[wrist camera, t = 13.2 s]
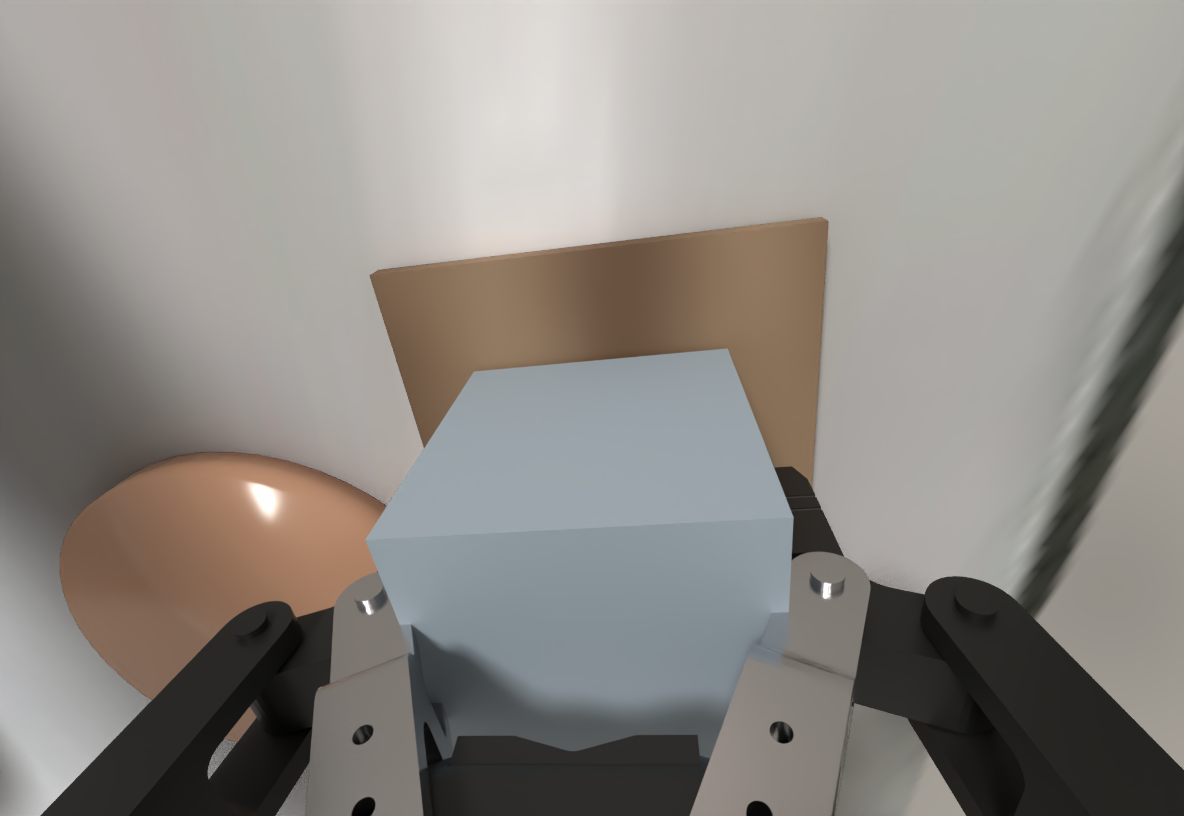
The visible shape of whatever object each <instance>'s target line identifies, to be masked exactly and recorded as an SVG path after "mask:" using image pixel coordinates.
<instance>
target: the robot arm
mask: <svg viewBox="0 0 1184 816" xmlns="http://www.w3.org/2000/svg"><path fill="white" fill-rule="evenodd" d="M767 451H768V449H767ZM768 453H769V452H768ZM769 456H770V455H769ZM770 458H771V457H770ZM771 461H772V460H771ZM772 464H773V462H772ZM773 466H774V465H773ZM774 469H775V471H776V474H777V476H778V479H779V481H780V484H781V487H782V489H783V492H784V494H785V497H786V499H787V502H788V504H789V507H790V510H791V512H792V515H793V517H794V519H793V539H792V559H791V579H790V599H789V612H779V613H771V615H770V618H769V621H768V624H767V627H766V630H765V633H764V635H763V638H762V641H761V643H760V645H757V644H754V645H753V646H752V647H751V649H750V651H749V653H748V656H747V659H746V661H745V664H744V667H743V670H742V672H741V675H740V678H739V681H738V683H737V686H736V689H735V692H734V694H733V697H732V700H731V703H730V705H729V708H728V711H727V714H726V717H725V719H724V722H723V725H722V728H721V730H720V733H719V736H718V739H717V741H716V744H715V747H714V750H713V752H712V755H711V758H707V757H704V756H700V754H699V744H698V735H634V736H631V737H627V738H623V739H619V740H616V741H612V742H608V743H605V744H601V745H597V746H594V747H590V748H586V749H582V750H578V751H567V750H563V749H560V748H556V747H553V746H549V745H546V744H542V743H539V742H535V741H532V740H528V739H525V738H521V737H518V736H458V737H457V740H456V744H455V747H454V751H453V745H452V739H451V733H450V727H449V721H448V717H447V714H446V712H445V709H444V707H443V704H442V703H431V700H430V698H429V695H428V693H427V690H426V686H425V683H424V678H423V673H422V667H421V659H420V651H419V643H418V641H417V638H416V636H415V633H414V631H413V628H412V626H411V624H404V625H400V624H399V622H398V619H397V617H396V614H395V612H394V610H393V607H392V605H391V602H390V600H389V597H388V595H387V592H386V590H385V587H384V585H383V583H382V580H381V578H380V575H379V573H378V571H377V572H375V573H371V574H369V575H366V576H364V577H362V578H360V579H358V580H356V581H355V582H353V583H352V584H351V585H349V586H348V587H347V588H346V589H345V590H344V591H343V592H342V593H341V594H340V596H339V597H338V599H337V600H336V603H335V606H334V607H331V608H327V609H324V610H320V611H317V612H314V613H310V614H307V615H303V616H300V617H296V616H295V614H294V612H293V610H292V609H291V607H290V605H288V604H287V603H285V602H282V601H269V602H264V603H261V604H258V605H255V606H253V607H250V608H248V609H246V610H245V611H243V612H241V613H240V614H238V615H237V616H235V617H234V618H233V619H231V620H230V621H229V622H228V623H227V624H226V625H225V626H224V627H223V628H222V629H221V630H220V631H219V632H218V633H217V634H216V635H215V636H214V637H213V638H212V639H211V640H210V641H209V642H208V643H207V644H206V645H205V646H204V647H203V648H202V649H201V650H200V651H199V652H198V653H197V654H196V656H195V657H194V658H193V659H192V660H191V661H190V662H189V663H188V664H187V665H186V666H185V667H184V668H183V669H182V670H181V671H180V672H179V673H178V674H177V675H176V676H175V677H174V678H173V679H172V680H171V681H170V682H169V683H168V684H167V685H166V686H165V688H164V689H163V690H162V691H161V692H160V693H159V694H158V695H157V696H156V697H155V698H154V699H153V700H152V701H151V702H150V703H149V704H148V705H147V706H146V707H145V708H144V709H143V710H142V711H141V712H140V713H139V714H138V715H137V716H136V717H135V719H134V720H133V721H132V722H131V723H130V724H129V725H128V726H127V727H126V728H125V729H124V730H123V731H122V732H121V733H120V734H119V735H118V736H117V737H116V738H115V739H114V740H113V741H112V742H111V743H110V744H109V745H108V746H107V747H106V748H105V749H104V751H103V752H102V753H101V754H100V755H99V756H98V757H97V758H96V759H95V760H94V761H93V762H92V763H91V764H90V765H89V766H88V767H87V768H86V769H85V770H84V771H83V772H82V773H81V774H80V775H79V776H78V777H77V778H76V779H75V780H74V782H73V783H72V784H71V785H70V786H69V787H68V788H67V789H66V790H65V791H64V792H63V793H62V794H61V795H60V796H59V797H58V798H57V799H56V800H55V801H54V802H53V803H52V804H51V805H50V806H49V807H48V808H47V809H46V810H45V811H44V813H43V814H42V815H41V816H275V815H276V814H277V812H278V811H279V809H280V807H281V806H282V804H283V803H284V801H285V800H286V798H287V797H288V795H289V793H290V792H291V790H292V789H293V787H294V786H295V784H296V782H297V781H298V779H299V778H300V776H301V775H302V773H303V771H304V770H305V768H306V767H307V765H308V764H309V776H308V788H307V801H306V814H305V816H836V812H837V805H838V799H839V792H840V786H841V780H842V774H843V768H844V762H845V756H846V750H847V744H848V738H849V732H850V726H851V720H852V714H853V708H854V703H856V704H860V705H863V706H867V707H870V708H874V709H878V710H881V711H885V712H888V713H892V714H895V715H899V716H903V717H906V718H908V720H909V722H910V724H911V725H912V727H913V729H914V730H915V732H916V734H917V735H918V737H919V738H920V740H921V742H922V743H923V745H924V747H925V748H926V750H927V752H928V753H929V755H930V757H931V758H932V760H933V762H934V763H935V765H936V766H937V768H938V770H939V771H940V773H941V775H942V776H943V778H944V780H945V781H946V783H947V785H948V786H949V788H950V789H951V791H952V793H953V794H954V796H955V798H956V799H957V801H958V803H959V804H960V806H961V808H962V809H963V811H964V813H965V814H966V816H1184V770H1183V769H1182V768H1181V767H1180V766H1179V765H1178V764H1177V763H1176V762H1175V761H1174V760H1173V759H1172V758H1171V757H1170V756H1169V755H1168V754H1167V753H1166V752H1165V751H1164V750H1163V749H1162V748H1161V747H1160V746H1159V745H1158V744H1157V743H1156V742H1155V741H1154V740H1153V739H1152V738H1151V737H1150V736H1149V735H1148V734H1147V733H1146V732H1145V730H1144V729H1143V728H1142V727H1140V726H1139V725H1138V724H1137V722H1136V721H1135V720H1134V719H1133V718H1132V717H1131V716H1130V715H1128V713H1127V712H1126V711H1125V710H1124V709H1122V707H1121V706H1120V705H1119V704H1118V703H1117V702H1116V701H1115V700H1114V699H1113V698H1112V697H1111V696H1110V695H1109V694H1108V693H1107V692H1106V691H1105V690H1104V689H1103V688H1102V687H1101V686H1100V685H1099V684H1098V683H1097V682H1096V681H1095V680H1094V679H1093V678H1092V677H1091V676H1090V675H1089V674H1088V673H1087V672H1086V671H1085V670H1084V669H1083V668H1082V667H1081V666H1080V665H1079V664H1078V663H1077V662H1076V661H1075V660H1074V659H1073V658H1072V657H1071V656H1070V655H1069V654H1068V653H1067V652H1066V651H1065V650H1064V649H1063V648H1062V647H1061V646H1060V645H1059V644H1058V643H1057V642H1056V641H1055V640H1054V639H1053V638H1052V637H1051V636H1050V635H1049V634H1048V633H1047V631H1045V629H1044V628H1043V627H1042V626H1040V624H1039V623H1038V622H1037V621H1036V620H1035V619H1034V618H1033V617H1032V616H1031V615H1030V614H1029V613H1028V612H1027V611H1026V610H1025V609H1024V608H1023V607H1022V606H1021V605H1020V604H1019V603H1018V602H1017V601H1016V600H1015V599H1013V598H1012V597H1011V596H1010V595H1008V594H1007V593H1006V592H1004V591H1003V590H1001V589H999V588H997V587H995V586H993V585H991V584H989V583H986V582H983V581H980V580H977V579H973V578H967V577H957V576H953V577H945V578H940V579H938V580H936V581H934V582H932V583H931V584H930V585H929V586H928V587H927V590H926V592H925V594H919V593H914V592H909V591H904V590H899V589H894V588H890V587H886V586H883V585H880V584H877V583H875V582H873V581H871V580H869V578H868V576H867V575H866V573H865V572H864V571H863V569H862V568H861V567H859V566H858V565H857V564H856V563H854V562H853V561H851V560H849V559H848V558H845V557H844V555H843V553H842V551H841V549H840V547H839V545H838V543H837V540H836V538H835V536H834V534H833V532H832V530H831V528H830V526H829V523H828V521H827V519H826V517H825V515H824V513H823V511H822V510H821V506H820V504H819V502H818V500H817V498H816V497H815V494H814V492H813V489H812V487H811V485H810V483H809V481H808V479H807V478H806V477H805V476H803V475H802V474H801V473H800V472H798V471H797V470H796V469H795V468H793V467H792V466H789V467H774ZM249 707H250V708H251V709H252V711H253V713H254V714H255V716H256V717H257V718H256V719H255V720H254V722H253V723H252V724H251V725H250V727H249V728H248V729H247V731H246V732H245V733H244V734H243V736H242V737H241V738H240V740H239V741H238V742H237V744H236V745H235V746H234V747H233V749H232V750H231V751H230V753H229V754H228V755H227V757H226V758H225V759H224V760H223V762H222V763H221V764H220V766H219V767H218V768H217V770H216V771H215V772H214V773H213V775H212V776H211V777H210V779H209V780H208V774H207V772H208V766H209V762H210V759H211V757H212V755H213V753H214V751H215V750H216V748H217V747H218V746H219V744H220V743H221V742H222V741H223V739H224V738H225V737H226V736H227V734H228V733H229V732H230V731H231V729H232V728H233V727H234V726H235V724H236V723H237V722H238V721H239V719H240V718H241V717H242V716H243V714H244V713H245V712H246V711H247V709H248V708H249ZM309 762H310V763H309Z"/></svg>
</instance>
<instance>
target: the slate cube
mask: <svg viewBox="0 0 1184 816" xmlns="http://www.w3.org/2000/svg"><path fill="white" fill-rule="evenodd" d="M793 519H794V517H793V515H792V512H791V510H790V507H789V504H788V502H787V499H786V497H785V494H784V492H783V489H782V487H781V484H780V481H779V479H778V476H777V474H776V471H775V469H774V466H773V464H772V461H771V458H770V456H769V453H768V451H767V448H766V446H765V443H764V440H763V438H762V435H761V433H760V430H759V428H758V425H757V423H756V420H755V417H754V415H753V412H752V410H751V407H750V405H749V402H748V399H747V397H746V394H745V392H744V389H743V387H742V384H741V382H740V379H739V376H738V374H737V371H736V369H735V366H734V364H733V361H732V359H731V356H730V353H729V351H728V349H717V350H705V351H694V352H683V353H672V354H661V355H650V356H639V357H628V358H617V359H606V360H595V361H584V362H573V363H562V364H551V365H540V366H529V367H518V368H507V369H496V370H485V371H474V372H473V374H472V375H471V377H470V378H469V380H468V381H467V383H466V385H465V386H464V388H463V389H462V391H461V392H460V394H459V395H458V397H457V399H456V400H455V402H454V403H453V405H452V406H451V408H450V409H449V411H448V412H447V414H446V416H445V417H444V419H443V420H442V422H441V423H440V425H439V426H438V428H437V429H436V431H435V433H434V434H433V436H432V437H431V439H430V440H429V442H428V443H427V445H426V446H425V448H424V450H423V451H422V453H421V454H420V456H419V457H418V459H417V460H416V462H415V464H414V465H413V467H412V468H411V470H410V471H409V473H408V474H407V476H406V477H405V479H404V481H403V482H402V484H401V485H400V487H399V488H398V490H397V491H396V493H395V494H394V496H393V498H392V499H391V501H390V502H389V504H388V505H387V507H386V508H385V510H384V511H383V513H382V515H381V516H380V518H379V519H378V521H377V522H376V524H375V525H374V527H373V529H372V530H371V532H370V533H369V535H368V536H367V538H366V539H365V541H366V543H367V546H368V548H369V551H370V553H371V556H372V558H373V561H374V563H375V565H376V568H377V570H378V573H379V575H380V578H381V580H382V583H383V585H384V587H385V590H386V592H387V595H388V597H389V600H390V602H391V605H392V607H393V610H394V612H395V614H396V617H397V619H398V622H399V624H400V625H404V624H411V626H412V628H413V631H414V633H415V636H416V638H417V641H418V643H419V651H420V659H421V667H422V673H423V678H424V683H425V686H426V690H427V693H428V695H429V698H430V700H431V703H442V704H443V707H444V709H445V712H446V714H447V717H448V721H449V727H450V733H451V739H452V745H453V751H454V747H455V744H456V740H457V737H458V736H518V737H521V738H525V739H528V740H532V741H535V742H539V743H542V744H546V745H549V746H553V747H556V748H560V749H563V750H567V751H578V750H582V749H586V748H590V747H594V746H597V745H601V744H605V743H608V742H612V741H616V740H619V739H623V738H627V737H631V736H634V735H698V744H699V754H700V756H704V757H707V758H711V755H712V752H713V750H714V747H715V744H716V741H717V739H718V736H719V733H720V730H721V728H722V725H723V722H724V719H725V717H726V714H727V711H728V708H729V705H730V703H731V700H732V697H733V694H734V692H735V689H736V686H737V683H738V681H739V678H740V675H741V672H742V670H743V667H744V664H745V661H746V659H747V656H748V653H749V651H750V649H751V647H752V646H753V645H754V644H757V645H760V643H761V641H762V638H763V635H764V633H765V630H766V627H767V624H768V621H769V618H770V615H771V613H779V612H789V599H790V579H791V559H792V539H793Z"/></svg>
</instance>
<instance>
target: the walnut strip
mask: <svg viewBox="0 0 1184 816" xmlns="http://www.w3.org/2000/svg"><path fill="white" fill-rule="evenodd" d="M827 236H828V220H826V219H824V218H822V217H818V218H810V219H802V220H793V221H785V222H777V223H768V224H760V225H751V226H743V227H735V228H726V229H718V230H710V231H701V232H693V233H684V234H676V235H668V236H659V237H651V238H642V239H634V240H626V241H617V242H609V243H601V244H592V245H584V246H575V247H567V248H559V249H550V250H542V251H534V252H525V253H517V254H508V255H500V256H492V257H483V258H475V259H467V260H458V261H450V262H441V263H433V264H425V265H416V266H408V267H400V268H391V269H383V270H378V271H376V272H374V273H373V274H371V275H370V278H371V282H372V285H373V288H374V291H375V294H376V297H377V301H378V304H379V307H380V310H381V313H382V316H383V320H384V323H385V326H386V329H387V332H388V335H389V339H390V342H391V345H392V348H393V351H394V354H395V358H396V361H397V364H398V367H399V370H400V373H401V377H402V380H403V383H404V386H405V389H406V392H407V396H408V399H409V402H410V405H411V408H412V411H413V415H414V418H415V421H416V424H417V427H418V430H419V434H420V437H421V440H422V443H423V446H424V448H425V446H426V445H427V443H428V442H429V440H430V439H431V437H432V436H433V434H434V433H435V431H436V429H437V428H438V426H439V425H440V423H441V422H442V420H443V419H444V417H445V416H446V414H447V412H448V411H449V409H450V408H451V406H452V405H453V403H454V402H455V400H456V399H457V397H458V395H459V394H460V392H461V391H462V389H463V388H464V386H465V385H466V383H467V381H468V380H469V378H470V377H471V375H472V374H473V372H474V371H485V370H496V369H507V368H518V367H529V366H540V365H551V364H562V363H573V362H584V361H595V360H606V359H617V358H628V357H639V356H650V355H661V354H672V353H683V352H694V351H705V350H717V349H728V351H729V353H730V356H731V359H732V361H733V364H734V366H735V369H736V371H737V374H738V376H739V379H740V382H741V384H742V387H743V389H744V392H745V394H746V397H747V399H748V402H749V405H750V407H751V410H752V412H753V415H754V417H755V420H756V423H757V425H758V428H759V430H760V433H761V435H762V438H763V440H764V443H765V446H766V448H767V449H768V452H769V455H770V457H771V460H772V462H773V465H774V467H789V466H792V467H793V468H795V469H796V470H797V471H798V472H800V473H801V474H802V475H803V476H805V477H806V478H807V479H808V481H809V483H810V485H811V487H812V475H813V459H814V443H815V427H816V411H817V396H818V380H819V364H820V348H821V332H822V316H823V300H824V284H825V268H826V252H827Z"/></svg>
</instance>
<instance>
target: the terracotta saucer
mask: <svg viewBox="0 0 1184 816" xmlns="http://www.w3.org/2000/svg"><path fill="white" fill-rule="evenodd" d="M385 508H386V506H385V505H383V504H382V503H380V502H379V501H377V500H376V499H374V498H373V497H371V496H370V495H368V494H366V493H364V492H362V491H361V490H359V489H357V488H355V487H353V486H351V485H349V484H347V483H346V482H344V481H341V480H339V479H336V478H334V477H332V476H329V475H327V474H325V473H322V472H320V471H317V470H315V469H312V468H308V467H305V466H302V465H299V464H296V463H292V462H289V461H285V460H281V459H276V458H271V457H266V456H261V455H255V454H245V453H235V452H201V453H194V454H187V455H181V456H175V457H172V458H169V459H165V460H162V461H158V462H155V463H153V464H151V465H149V466H147V467H145V468H143V469H141V470H138V471H136V472H135V473H133V474H132V475H130V476H129V477H128V478H126V479H125V480H123V481H122V482H120V483H119V484H118V485H116V486H115V487H113V488H112V489H110V490H109V491H108V492H106V493H105V494H103V495H102V496H100V497H99V498H98V499H96V500H95V501H94V502H92V503H91V504H90V505H88V506H87V507H86V508H84V510H83V511H82V512H81V513H80V514H79V515H78V517H77V518H76V519H75V520H74V521H73V522H72V524H71V526H70V528H69V530H68V532H67V534H66V536H65V538H64V541H63V546H62V550H61V554H60V578H61V583H62V588H63V593H64V596H65V598H66V601H67V604H68V607H69V609H70V612H71V613H72V615H73V617H74V619H75V621H76V623H77V625H78V627H79V628H80V630H81V631H82V633H83V634H84V636H85V637H86V638H87V640H88V641H89V643H90V644H91V645H92V647H93V648H94V649H95V650H96V651H97V652H98V654H99V655H100V656H101V657H102V658H103V659H104V660H105V662H106V663H107V664H108V665H109V666H110V667H112V668H113V669H114V670H115V671H116V672H117V673H118V674H119V675H120V676H121V677H122V678H123V679H124V680H126V681H127V682H128V683H129V684H131V685H132V686H133V687H134V688H136V689H137V690H138V691H139V692H141V693H142V694H143V695H145V696H146V697H148V698H149V699H151V700H153V699H154V698H155V697H156V696H157V695H158V694H159V693H160V692H161V691H162V690H163V689H164V688H165V686H166V685H167V684H168V683H169V682H170V681H171V680H172V679H173V678H174V677H175V676H176V675H177V674H178V673H179V672H180V671H181V670H182V669H183V668H184V667H185V666H186V665H187V664H188V663H189V662H190V661H191V660H192V659H193V658H194V657H195V656H196V654H197V653H198V652H199V651H200V650H201V649H202V648H203V647H204V646H205V645H206V644H207V643H208V642H209V641H210V640H211V639H212V638H213V637H214V636H215V635H216V634H217V633H218V632H219V631H220V630H221V629H222V628H223V627H224V626H225V625H226V624H227V623H228V622H229V621H230V620H231V619H233V618H234V617H235V616H237V615H238V614H240V613H241V612H243V611H245V610H246V609H248V608H250V607H253V606H255V605H258V604H261V603H264V602H269V601H282V602H285V603H287V604H288V605H290V607H291V609H292V610H293V612H294V614H295V616H296V617H300V616H303V615H307V614H310V613H314V612H317V611H320V610H324V609H327V608H331V607H334V606H335V603H336V600H337V599H338V597H339V596H340V594H341V593H342V592H343V591H344V590H345V589H346V588H347V587H348V586H349V585H351V584H352V583H353V582H355V581H356V580H358V579H360V578H362V577H364V576H366V575H369V574H371V573H375V572H377V571H378V570H377V568H376V565H375V563H374V561H373V558H372V556H371V553H370V551H369V548H368V546H367V543H366V541H365V539H366V538H367V536H368V535H369V533H370V532H371V530H372V529H373V527H374V525H375V524H376V522H377V521H378V519H379V518H380V516H381V515H382V513H383V511H384V510H385ZM256 718H257V717H256V716H255V714H254V713H253V711H252V709H251V708H250V707H249V708H248V709H247V711H246V712H245V713H244V714H243V716H242V717H241V718H240V719H239V721H238V722H237V723H236V724H235V726H234V727H233V728H232V729H231V731H230V732H229V733H228V734H227V736H226V737H225V738H226V739H229V740H232V741H234V742H238V741H239V740H240V738H241V737H242V736H243V734H244V733H245V732H246V731H247V729H248V728H249V727H250V725H251V724H252V723H253V722H254V720H255V719H256Z"/></svg>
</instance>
